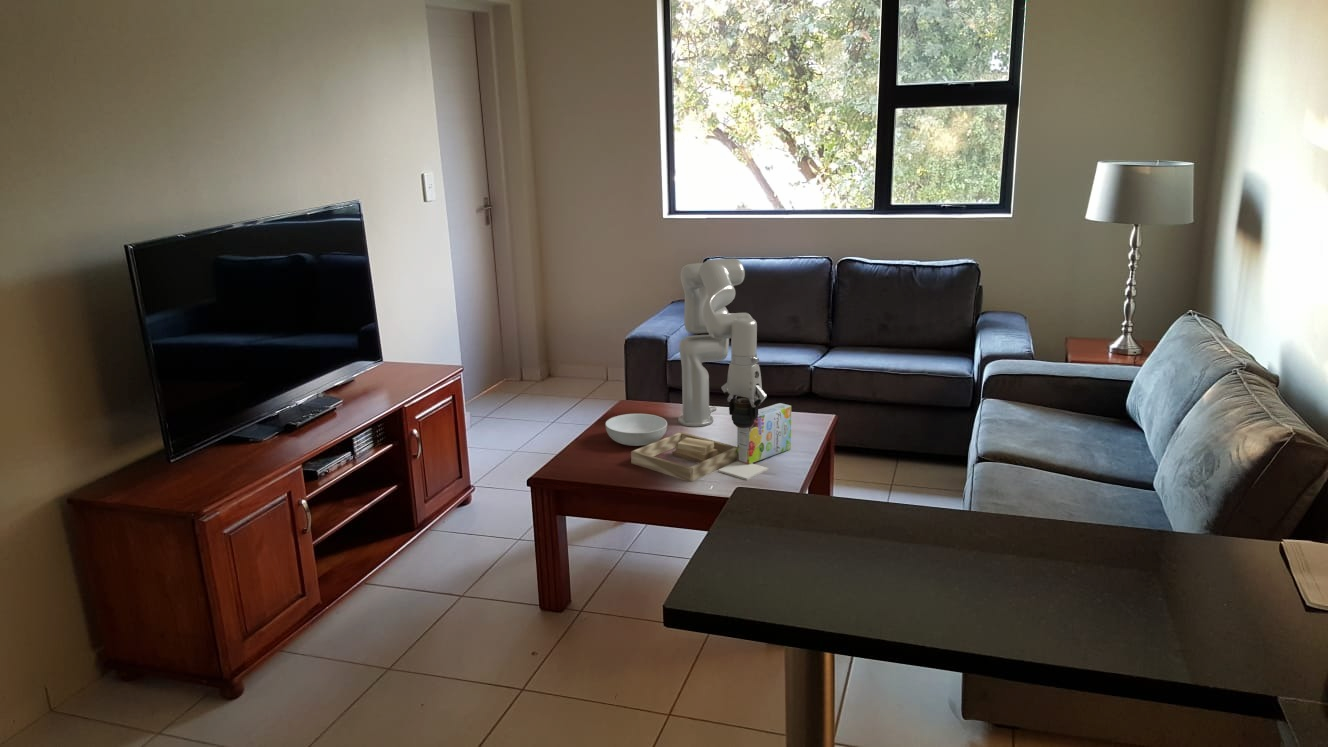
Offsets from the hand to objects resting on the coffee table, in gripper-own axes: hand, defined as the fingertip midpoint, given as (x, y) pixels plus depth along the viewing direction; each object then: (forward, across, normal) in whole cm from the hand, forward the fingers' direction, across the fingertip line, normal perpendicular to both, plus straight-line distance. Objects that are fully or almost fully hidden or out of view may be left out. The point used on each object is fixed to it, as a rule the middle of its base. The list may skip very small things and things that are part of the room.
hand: (743, 415), depth 274 cm
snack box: (+18, +2, -14) cm, 23 cm away
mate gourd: (+3, 0, 0) cm, 3 cm away
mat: (+18, 0, 0) cm, 18 cm away
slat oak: (+17, +19, 0) cm, 25 cm away
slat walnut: (+19, +19, 0) cm, 27 cm away
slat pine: (+15, +19, 0) cm, 24 cm away
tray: (+18, +19, +5) cm, 26 cm away
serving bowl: (+18, +44, +1) cm, 48 cm away
